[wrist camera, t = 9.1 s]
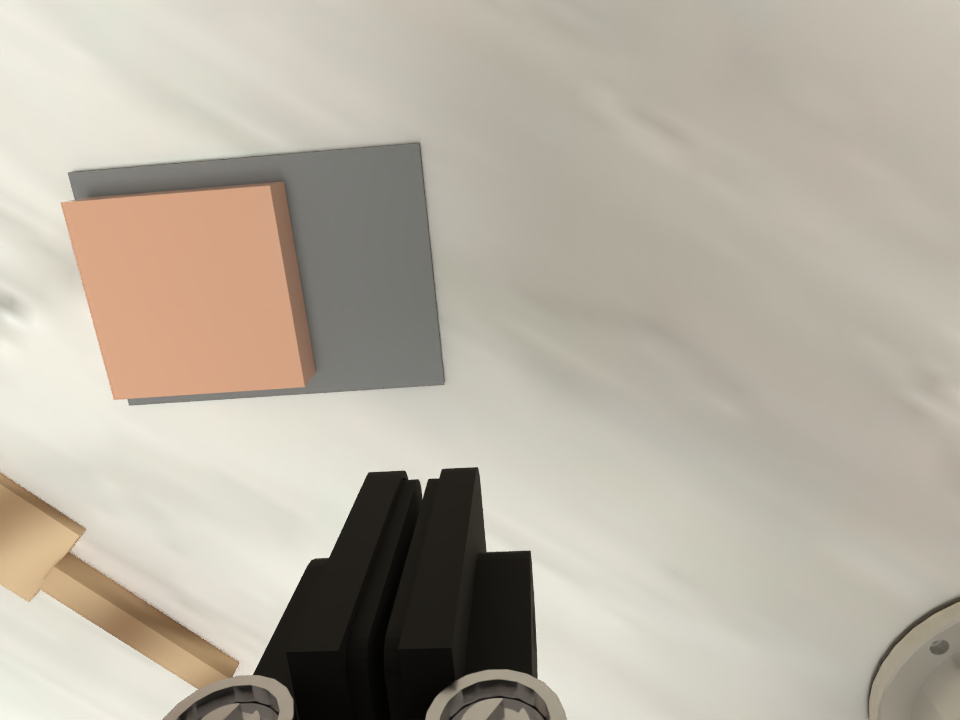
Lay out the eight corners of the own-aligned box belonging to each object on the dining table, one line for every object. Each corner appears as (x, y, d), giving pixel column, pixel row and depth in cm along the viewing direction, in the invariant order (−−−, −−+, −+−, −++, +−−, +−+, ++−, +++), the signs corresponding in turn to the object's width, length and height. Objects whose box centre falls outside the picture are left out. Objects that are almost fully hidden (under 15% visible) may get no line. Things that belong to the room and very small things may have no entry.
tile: (304, 387, 29) (114, 399, 29) (316, 371, 30) (135, 383, 31) (269, 185, 26) (60, 202, 26) (284, 181, 28) (87, 197, 28)
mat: (444, 382, 31) (443, 384, 30) (132, 402, 31) (129, 405, 31) (419, 142, 27) (418, 143, 27) (72, 171, 28) (67, 172, 28)
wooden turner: (258, 641, 36) (250, 659, 34) (204, 699, 37) (195, 718, 36) (-46, 441, 32) (-66, 453, 31) (-93, 513, 34) (-114, 527, 33)
